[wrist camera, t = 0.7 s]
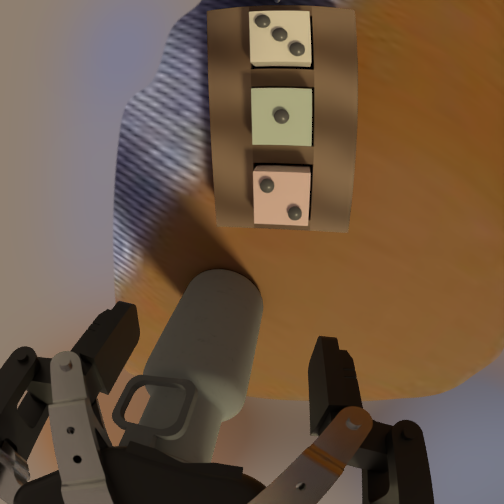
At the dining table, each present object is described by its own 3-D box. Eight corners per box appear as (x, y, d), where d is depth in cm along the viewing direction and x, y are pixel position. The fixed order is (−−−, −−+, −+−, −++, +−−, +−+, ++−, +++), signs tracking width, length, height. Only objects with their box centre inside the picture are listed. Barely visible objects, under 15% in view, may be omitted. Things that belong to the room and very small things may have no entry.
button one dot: (255, 90, 21) (250, 88, 18) (310, 90, 20) (312, 88, 18) (256, 140, 23) (251, 145, 20) (309, 142, 22) (311, 146, 20)
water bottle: (177, 266, 35) (53, 479, 10) (254, 258, 32) (175, 536, 8) (201, 327, 39) (128, 517, 15) (270, 325, 37) (228, 545, 13)
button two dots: (257, 164, 24) (252, 172, 21) (309, 166, 23) (310, 174, 21) (258, 212, 26) (253, 225, 23) (307, 214, 25) (307, 227, 23)
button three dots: (253, 20, 17) (248, 10, 15) (308, 20, 17) (309, 10, 14) (255, 66, 20) (249, 61, 17) (309, 66, 19) (311, 61, 16)
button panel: (219, 22, 20) (207, 10, 17) (347, 22, 19) (354, 10, 15) (226, 211, 30) (216, 226, 27) (342, 216, 28) (347, 232, 25)
